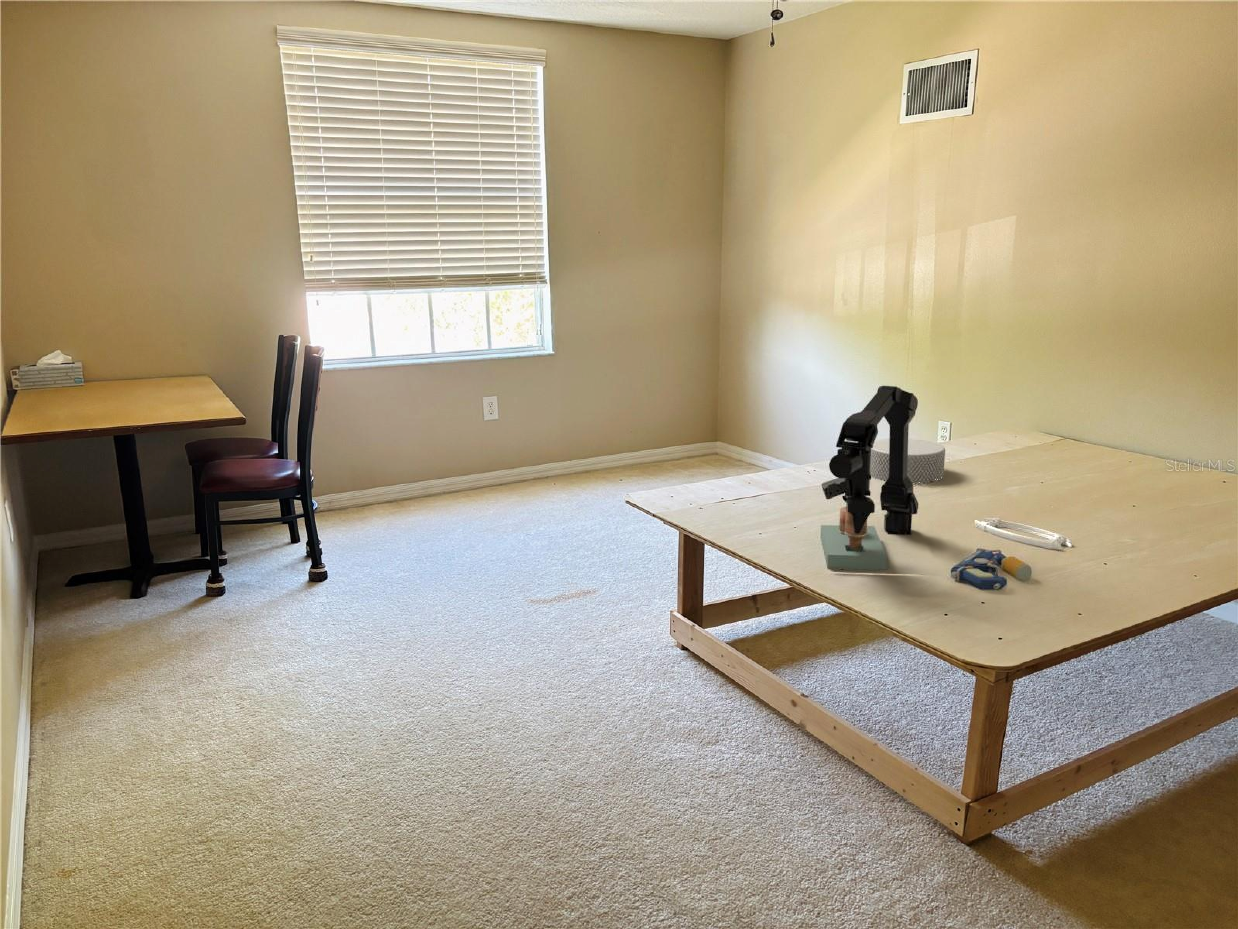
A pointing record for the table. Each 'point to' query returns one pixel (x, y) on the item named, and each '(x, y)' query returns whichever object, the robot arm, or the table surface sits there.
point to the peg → (854, 538)
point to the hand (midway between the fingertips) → (855, 529)
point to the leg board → (852, 550)
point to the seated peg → (842, 520)
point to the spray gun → (989, 569)
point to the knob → (910, 460)
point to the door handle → (1051, 543)
